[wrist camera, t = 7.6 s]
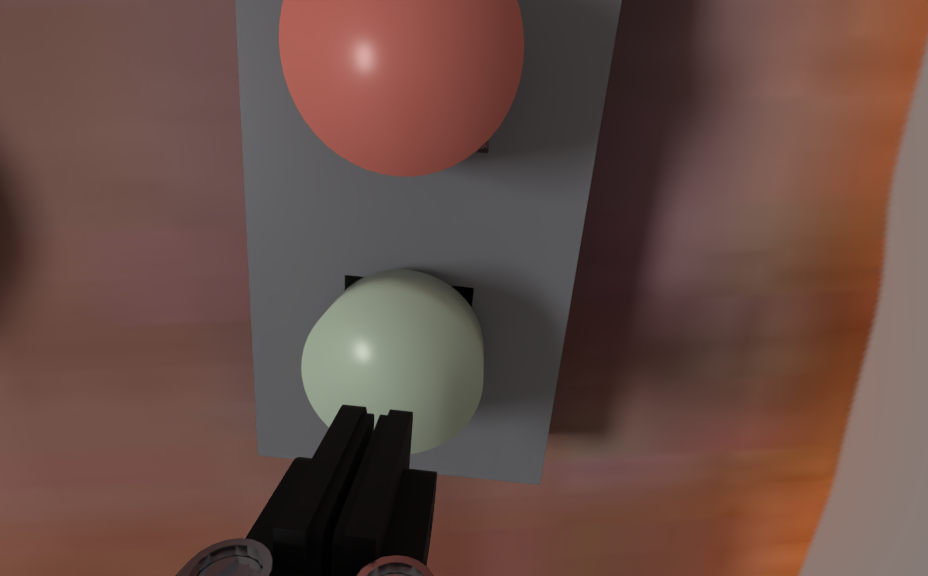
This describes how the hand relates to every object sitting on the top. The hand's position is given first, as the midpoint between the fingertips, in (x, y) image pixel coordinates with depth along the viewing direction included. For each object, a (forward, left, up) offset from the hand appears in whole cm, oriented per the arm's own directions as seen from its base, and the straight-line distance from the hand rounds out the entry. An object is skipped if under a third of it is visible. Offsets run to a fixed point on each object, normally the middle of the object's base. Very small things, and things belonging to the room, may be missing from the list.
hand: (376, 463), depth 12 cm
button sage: (+1, 0, -7) cm, 7 cm away
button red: (+9, 0, -6) cm, 11 cm away
